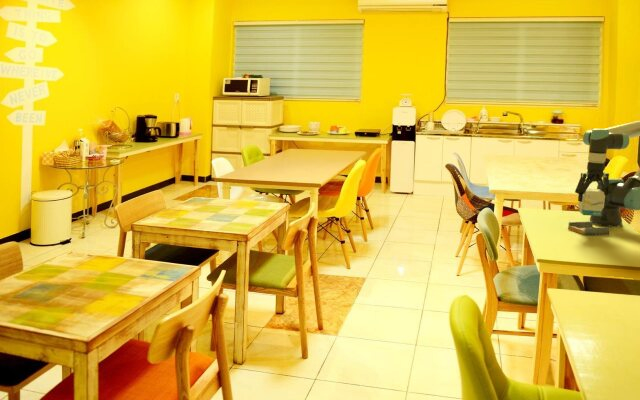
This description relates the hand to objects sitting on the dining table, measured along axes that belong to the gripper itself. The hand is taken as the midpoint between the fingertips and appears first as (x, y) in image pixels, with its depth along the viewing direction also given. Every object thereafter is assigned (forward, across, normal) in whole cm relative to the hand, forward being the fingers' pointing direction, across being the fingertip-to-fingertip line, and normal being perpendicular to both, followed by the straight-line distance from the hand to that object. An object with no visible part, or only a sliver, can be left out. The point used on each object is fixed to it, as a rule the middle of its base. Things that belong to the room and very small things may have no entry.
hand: (590, 208), depth 298 cm
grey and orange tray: (+12, 0, 0) cm, 12 cm away
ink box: (+3, 0, 0) cm, 3 cm away
